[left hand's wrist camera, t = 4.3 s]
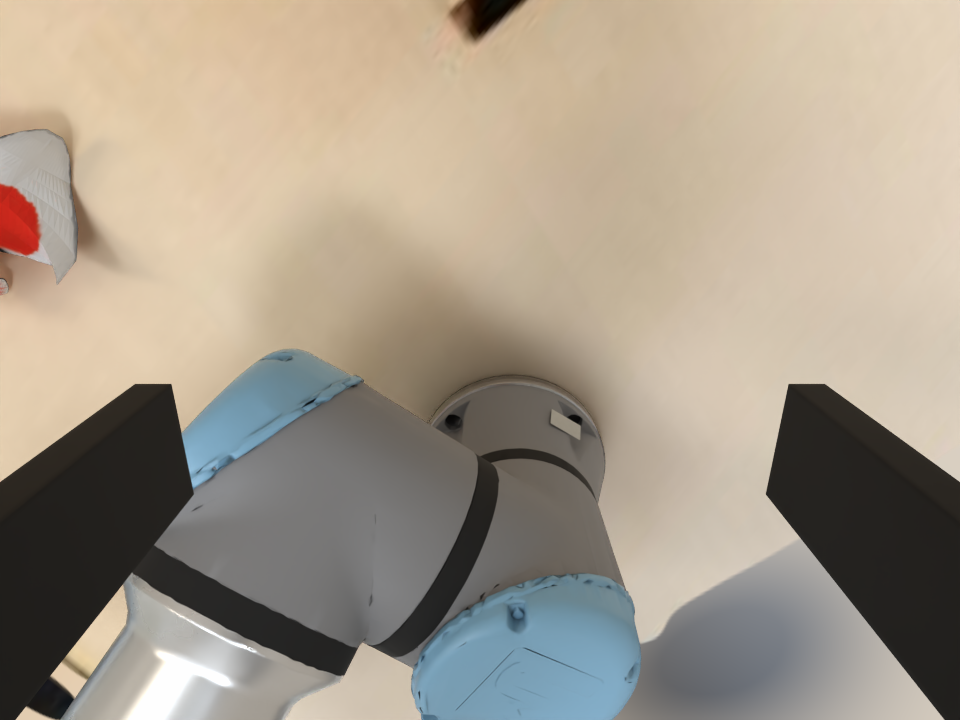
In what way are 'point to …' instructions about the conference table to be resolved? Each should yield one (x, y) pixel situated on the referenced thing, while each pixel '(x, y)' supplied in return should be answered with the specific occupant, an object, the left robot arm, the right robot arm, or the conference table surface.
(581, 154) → the conference table surface
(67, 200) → the fish
